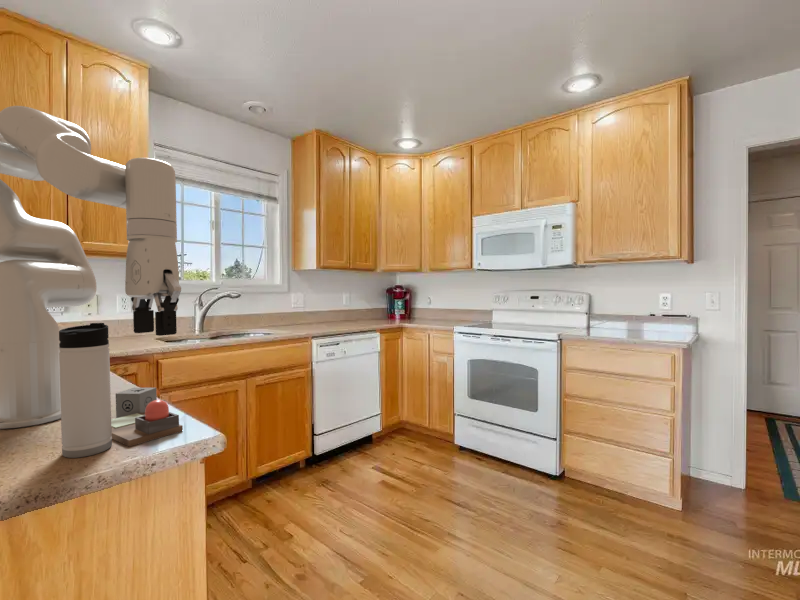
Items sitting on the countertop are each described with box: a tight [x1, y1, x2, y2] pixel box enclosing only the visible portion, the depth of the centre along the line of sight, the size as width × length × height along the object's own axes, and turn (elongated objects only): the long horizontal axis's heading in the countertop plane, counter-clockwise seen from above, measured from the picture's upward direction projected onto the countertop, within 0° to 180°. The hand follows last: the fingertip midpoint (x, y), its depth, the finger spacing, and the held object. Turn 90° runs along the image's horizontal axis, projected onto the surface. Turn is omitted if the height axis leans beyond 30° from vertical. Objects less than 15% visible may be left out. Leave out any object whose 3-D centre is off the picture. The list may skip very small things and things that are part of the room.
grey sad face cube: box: [115, 387, 158, 418], centre depth 83 cm, size 5×5×5 cm
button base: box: [111, 411, 184, 447], centre depth 74 cm, size 15×9×3 cm, turn 56°
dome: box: [145, 399, 170, 422], centre depth 72 cm, size 4×4×4 cm
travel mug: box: [59, 322, 113, 459], centre depth 64 cm, size 6×7×20 cm
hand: (154, 332), depth 71 cm, fingers open, 7 cm apart
